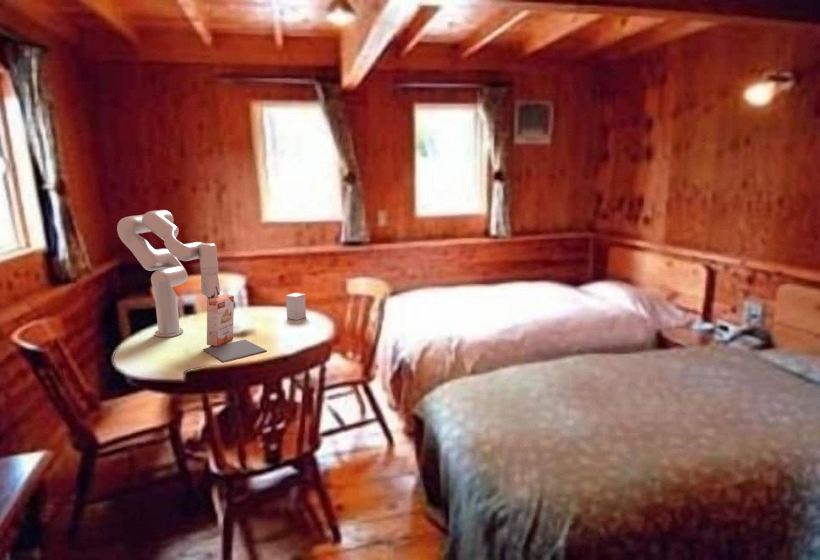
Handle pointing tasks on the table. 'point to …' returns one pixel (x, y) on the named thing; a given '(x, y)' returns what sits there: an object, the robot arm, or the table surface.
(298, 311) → the supplement box
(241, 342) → the mat
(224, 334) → the cracker box
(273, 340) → the table surface
